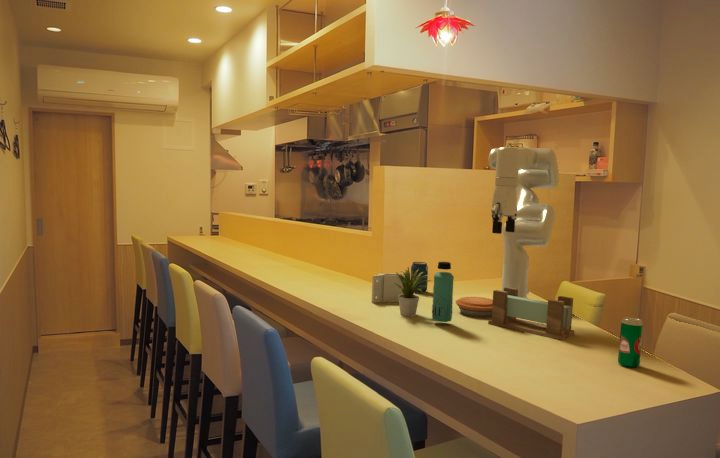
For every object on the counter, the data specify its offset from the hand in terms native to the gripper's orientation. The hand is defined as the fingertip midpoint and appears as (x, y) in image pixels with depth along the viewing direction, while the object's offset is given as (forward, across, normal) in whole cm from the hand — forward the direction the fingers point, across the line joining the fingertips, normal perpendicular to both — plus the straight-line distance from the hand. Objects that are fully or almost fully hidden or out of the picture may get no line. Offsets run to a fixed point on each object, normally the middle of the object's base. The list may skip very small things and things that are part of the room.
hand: (503, 232), depth 191 cm
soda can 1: (+28, -8, -40) cm, 50 cm away
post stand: (+28, +12, +17) cm, 35 cm away
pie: (+29, +6, -5) cm, 30 cm away
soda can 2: (+28, +27, +50) cm, 64 cm away
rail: (+25, +12, +17) cm, 33 cm away
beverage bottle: (+28, +29, -5) cm, 41 cm away
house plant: (+28, +28, -19) cm, 44 cm away
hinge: (+29, +16, -37) cm, 49 cm away
